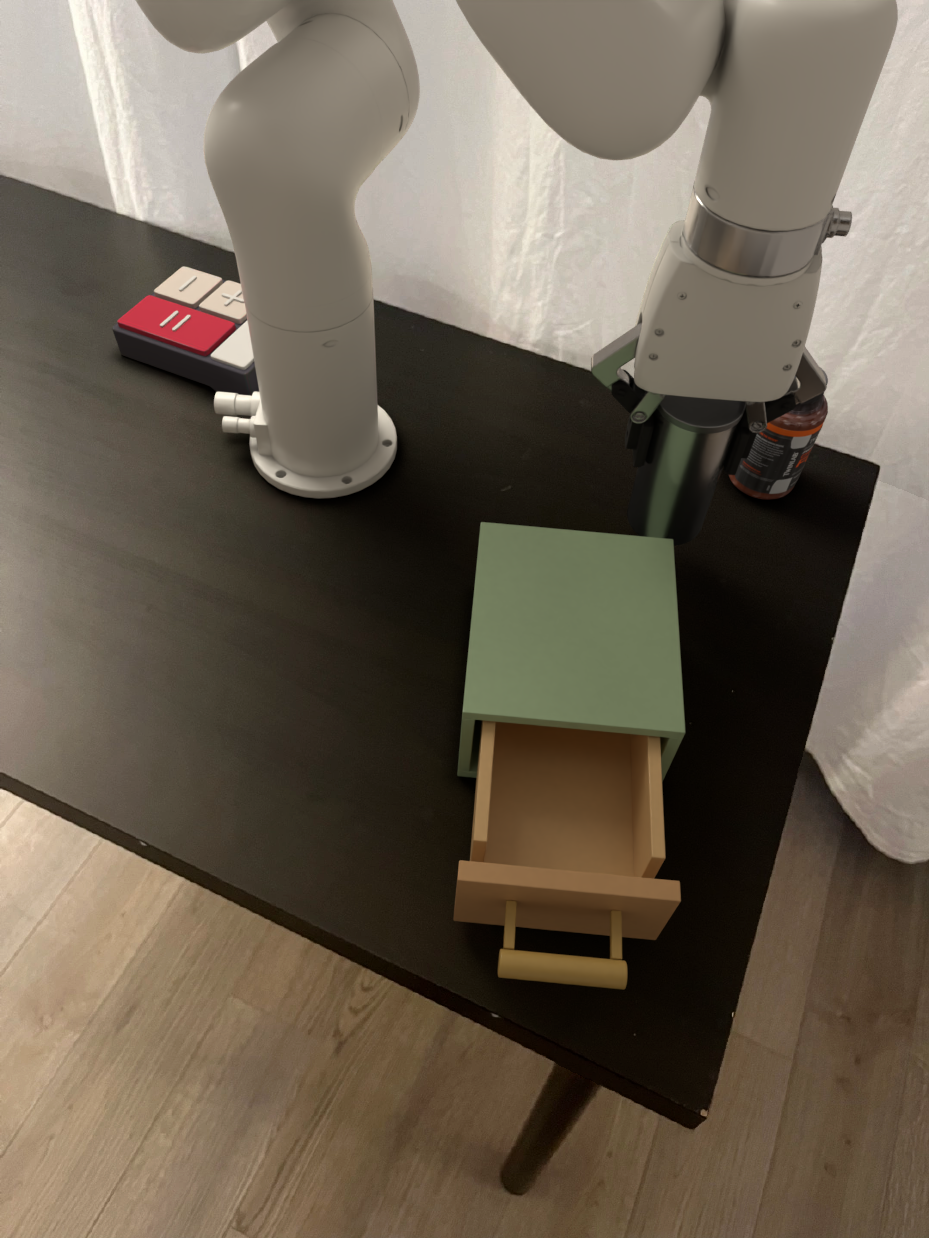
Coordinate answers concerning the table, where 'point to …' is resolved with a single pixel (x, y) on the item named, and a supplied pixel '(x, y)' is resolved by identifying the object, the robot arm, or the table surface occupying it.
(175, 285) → the calculator
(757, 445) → the supplement bottle
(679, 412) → the metal canister
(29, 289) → the table surface
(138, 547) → the table surface
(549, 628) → the cabinet
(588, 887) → the drawer
